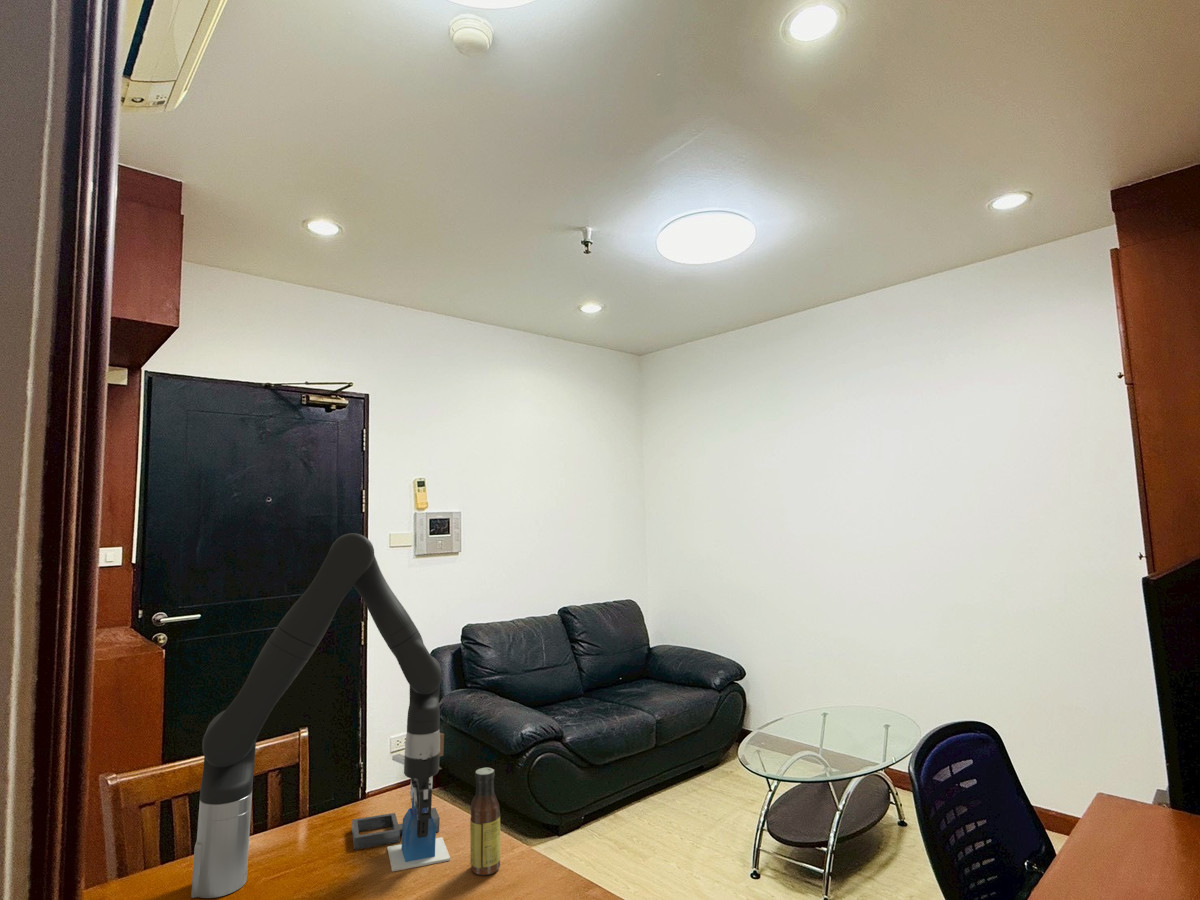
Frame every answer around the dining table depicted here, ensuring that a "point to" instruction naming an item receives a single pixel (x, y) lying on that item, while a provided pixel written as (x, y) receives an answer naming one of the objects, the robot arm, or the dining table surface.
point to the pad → (400, 864)
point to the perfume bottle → (411, 843)
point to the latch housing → (383, 836)
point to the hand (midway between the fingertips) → (419, 827)
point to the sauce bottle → (485, 825)
